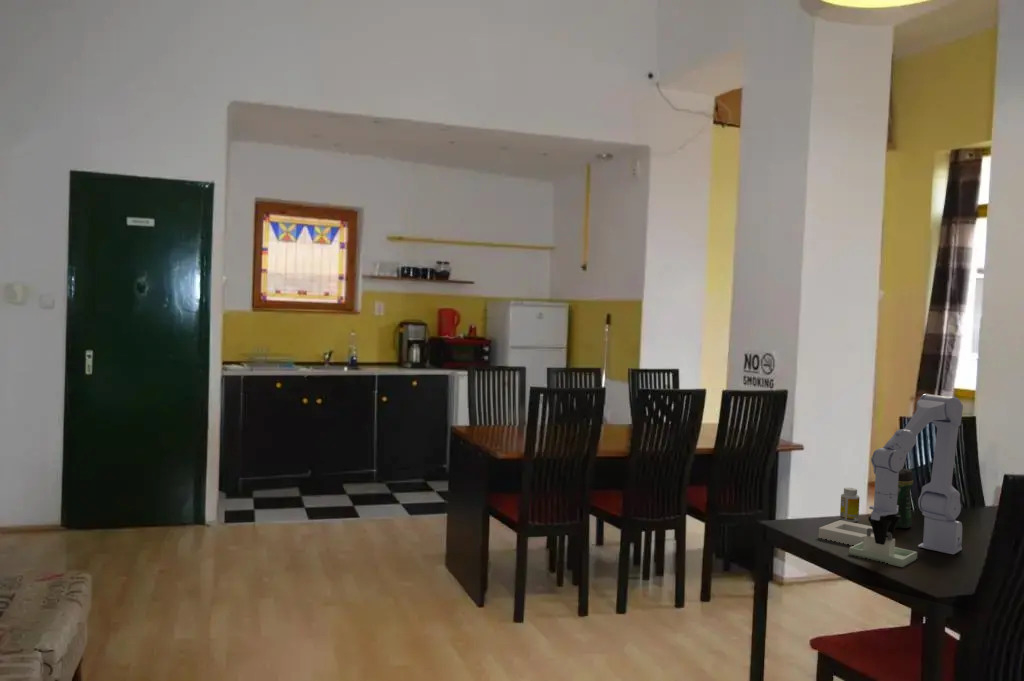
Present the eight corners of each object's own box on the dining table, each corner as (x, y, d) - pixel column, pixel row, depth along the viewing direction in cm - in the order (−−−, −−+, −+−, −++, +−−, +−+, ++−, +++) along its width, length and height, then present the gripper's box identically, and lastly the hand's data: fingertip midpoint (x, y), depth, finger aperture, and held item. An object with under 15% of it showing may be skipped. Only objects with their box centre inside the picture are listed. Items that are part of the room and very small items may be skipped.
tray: (916, 559, 219) (917, 551, 219) (902, 567, 211) (902, 559, 211) (864, 547, 229) (865, 540, 229) (848, 554, 221) (849, 547, 221)
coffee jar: (914, 526, 255) (917, 468, 255) (904, 530, 250) (907, 471, 249) (883, 520, 262) (885, 463, 262) (873, 524, 257) (876, 466, 256)
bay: (881, 538, 240) (881, 528, 239) (861, 547, 229) (861, 537, 229) (839, 529, 248) (840, 519, 248) (818, 537, 238) (819, 527, 237)
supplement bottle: (861, 520, 260) (863, 489, 260) (853, 523, 257) (854, 491, 256) (845, 517, 265) (846, 486, 264) (836, 519, 261) (838, 488, 261)
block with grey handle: (894, 555, 220) (895, 531, 220) (888, 558, 217) (890, 534, 217) (868, 549, 225) (869, 526, 225) (862, 552, 222) (863, 528, 222)
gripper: (881, 486, 228) (878, 534, 228) (860, 493, 217) (858, 543, 218) (907, 491, 223) (904, 539, 223) (887, 498, 212) (885, 549, 213)
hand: (883, 542), depth 220 cm, fingers open, 5 cm apart
